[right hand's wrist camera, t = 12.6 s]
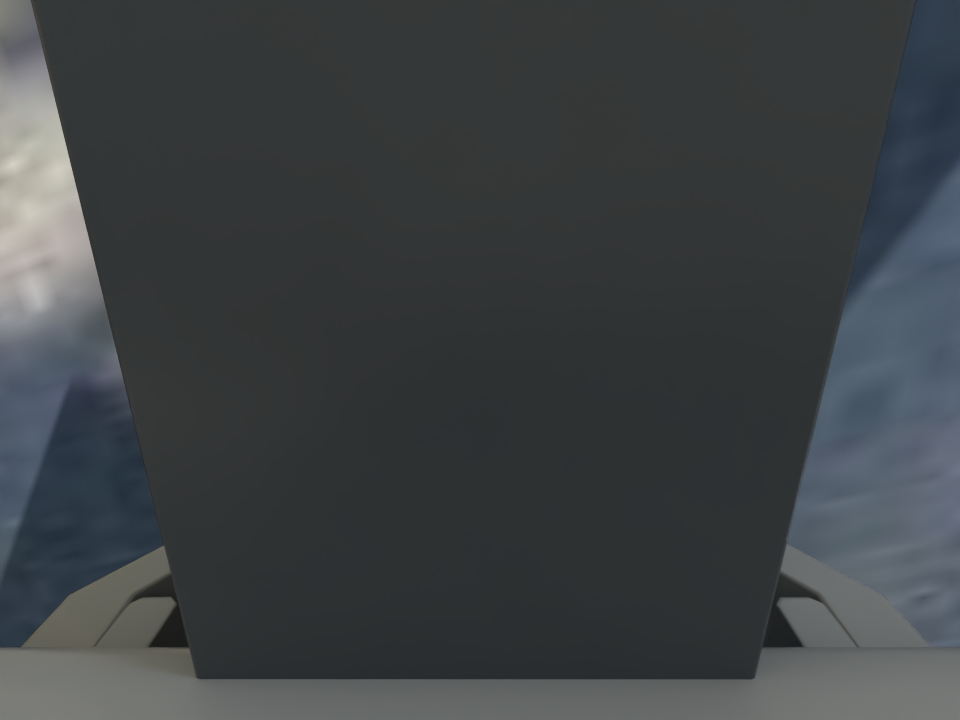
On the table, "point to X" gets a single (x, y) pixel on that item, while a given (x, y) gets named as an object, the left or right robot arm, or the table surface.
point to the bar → (474, 313)
